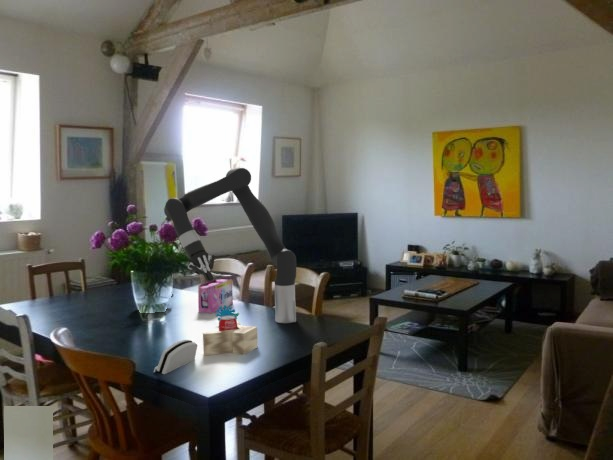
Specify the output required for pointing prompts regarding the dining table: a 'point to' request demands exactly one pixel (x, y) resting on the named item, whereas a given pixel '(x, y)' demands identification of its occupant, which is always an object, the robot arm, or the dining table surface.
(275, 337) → the dining table surface
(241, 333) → the v block
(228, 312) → the gear
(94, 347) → the dining table surface
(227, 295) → the gum box
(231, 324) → the soda can
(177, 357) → the white zipper pouch
